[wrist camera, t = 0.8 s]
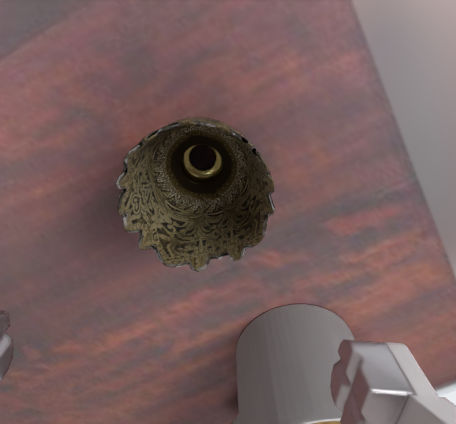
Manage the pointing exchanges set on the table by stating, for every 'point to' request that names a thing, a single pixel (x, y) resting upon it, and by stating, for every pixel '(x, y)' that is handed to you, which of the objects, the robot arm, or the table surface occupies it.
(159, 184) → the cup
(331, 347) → the coffee mug
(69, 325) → the table surface
